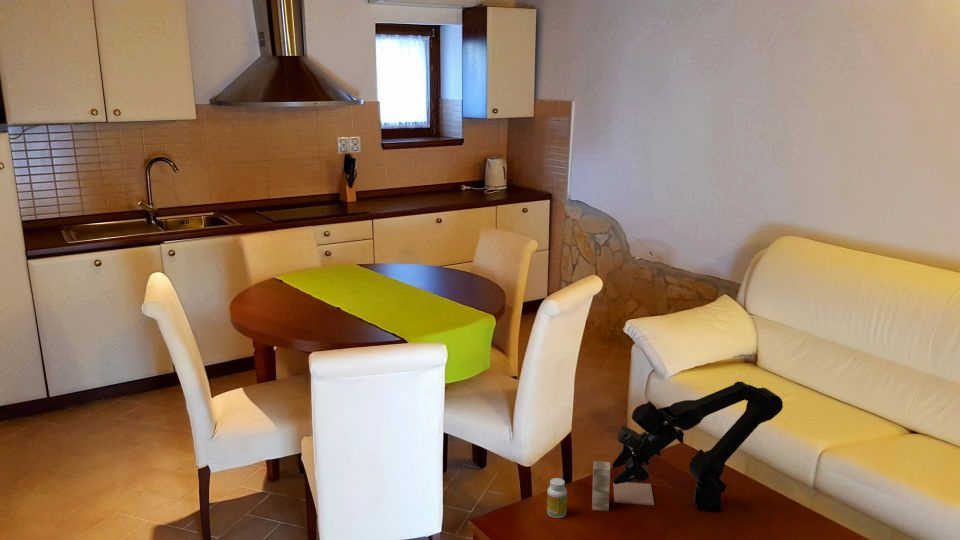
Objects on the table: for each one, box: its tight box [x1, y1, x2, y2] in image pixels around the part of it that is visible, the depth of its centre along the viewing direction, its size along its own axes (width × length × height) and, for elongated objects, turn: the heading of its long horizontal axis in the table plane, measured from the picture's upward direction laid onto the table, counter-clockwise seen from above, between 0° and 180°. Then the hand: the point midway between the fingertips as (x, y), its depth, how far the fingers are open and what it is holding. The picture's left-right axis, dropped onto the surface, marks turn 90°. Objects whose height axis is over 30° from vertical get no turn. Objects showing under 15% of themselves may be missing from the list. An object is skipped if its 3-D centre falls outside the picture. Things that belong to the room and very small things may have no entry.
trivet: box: [612, 482, 655, 506], centre depth 210 cm, size 11×11×1 cm
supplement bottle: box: [546, 477, 568, 519], centre depth 199 cm, size 5×5×10 cm
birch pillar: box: [591, 460, 611, 512], centre depth 202 cm, size 4×4×12 cm
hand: (613, 474), depth 201 cm, fingers open, 9 cm apart
